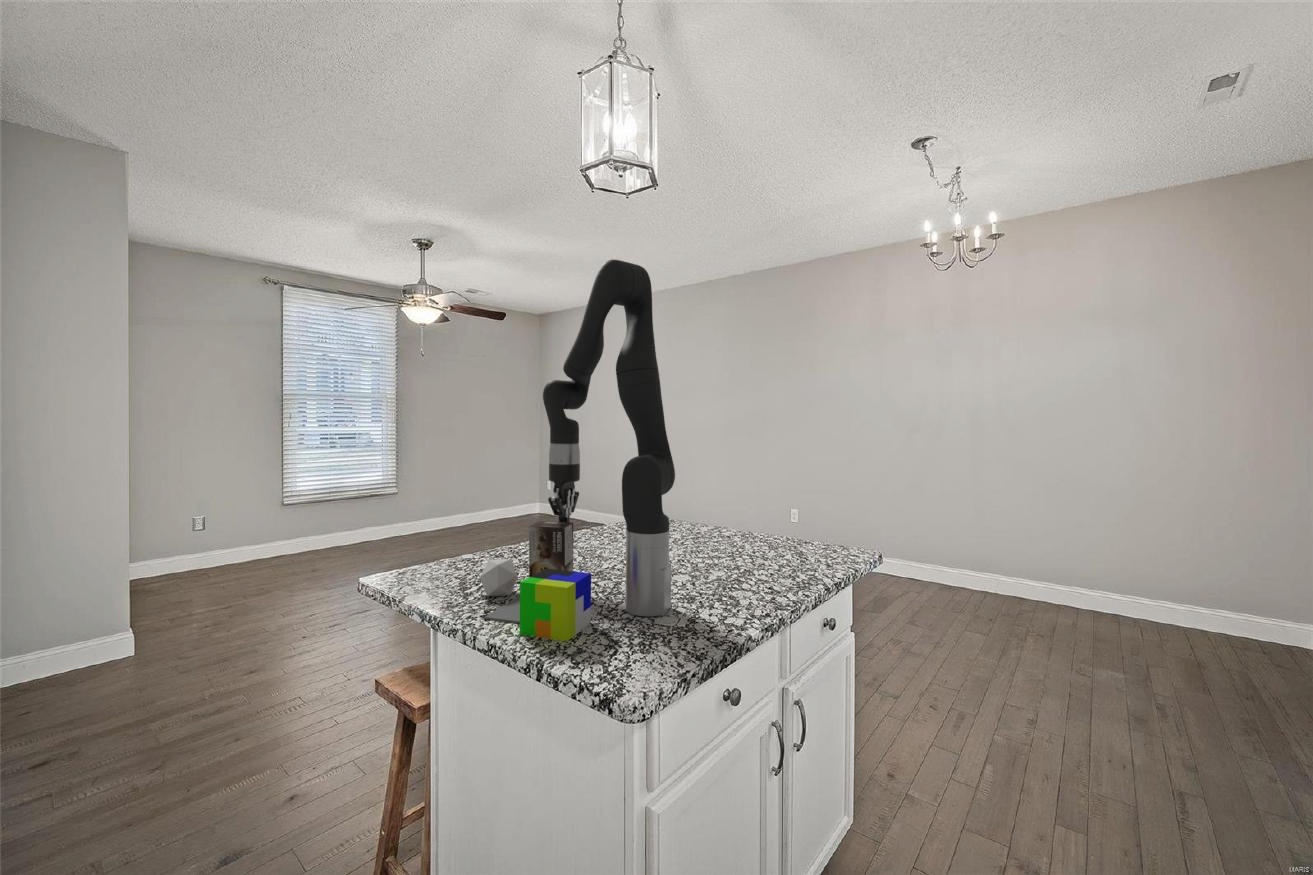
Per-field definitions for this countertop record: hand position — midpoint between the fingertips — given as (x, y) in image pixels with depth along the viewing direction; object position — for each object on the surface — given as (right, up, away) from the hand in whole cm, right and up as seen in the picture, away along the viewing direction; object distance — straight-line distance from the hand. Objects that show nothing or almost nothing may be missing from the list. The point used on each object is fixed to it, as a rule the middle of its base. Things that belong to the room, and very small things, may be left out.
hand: (564, 531), depth 133 cm
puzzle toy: (+3, -14, -28) cm, 32 cm away
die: (-14, -13, -8) cm, 21 cm away
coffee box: (-2, -13, -6) cm, 15 cm away
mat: (-6, -13, -17) cm, 23 cm away
